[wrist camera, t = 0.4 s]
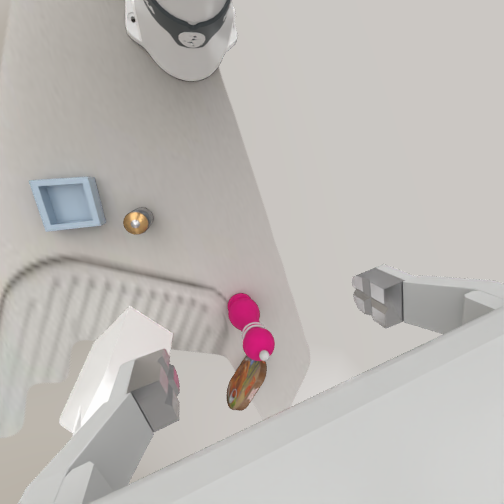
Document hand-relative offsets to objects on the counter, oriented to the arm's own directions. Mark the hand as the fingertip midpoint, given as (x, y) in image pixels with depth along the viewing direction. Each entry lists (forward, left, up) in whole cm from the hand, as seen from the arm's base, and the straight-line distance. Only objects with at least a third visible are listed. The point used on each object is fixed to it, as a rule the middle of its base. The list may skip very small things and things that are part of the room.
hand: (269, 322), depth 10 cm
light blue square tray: (-4, -22, -44) cm, 50 cm away
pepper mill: (+24, +7, -44) cm, 51 cm away
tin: (+44, +6, -44) cm, 63 cm away
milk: (+27, -18, -44) cm, 55 cm away
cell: (0, -11, -44) cm, 46 cm away
